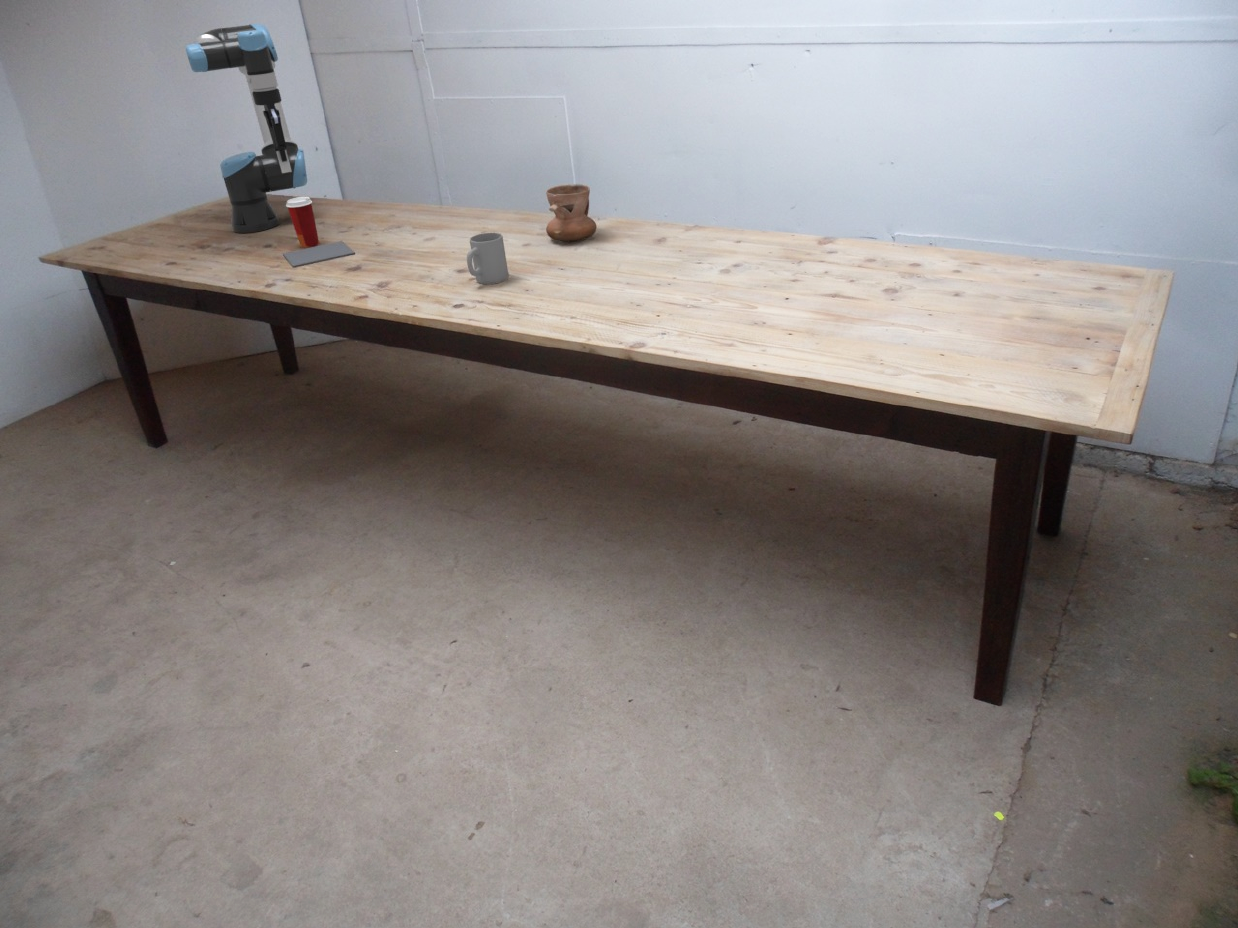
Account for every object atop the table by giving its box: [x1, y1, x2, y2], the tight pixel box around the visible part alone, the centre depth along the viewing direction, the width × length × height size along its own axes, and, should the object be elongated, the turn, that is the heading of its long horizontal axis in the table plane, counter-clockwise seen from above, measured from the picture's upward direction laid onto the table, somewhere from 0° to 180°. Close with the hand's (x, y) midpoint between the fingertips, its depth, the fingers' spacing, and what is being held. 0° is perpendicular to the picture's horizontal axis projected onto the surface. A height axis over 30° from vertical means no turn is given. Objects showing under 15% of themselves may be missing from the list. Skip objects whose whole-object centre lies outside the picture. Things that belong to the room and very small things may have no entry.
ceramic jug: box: [545, 183, 597, 243], centre depth 259 cm, size 18×14×14 cm
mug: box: [466, 232, 509, 285], centre depth 233 cm, size 12×8×11 cm
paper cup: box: [285, 196, 320, 249], centre depth 277 cm, size 8×8×14 cm
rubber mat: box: [282, 240, 356, 268], centre depth 271 cm, size 16×18×1 cm
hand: (286, 172), depth 277 cm, fingers closed
